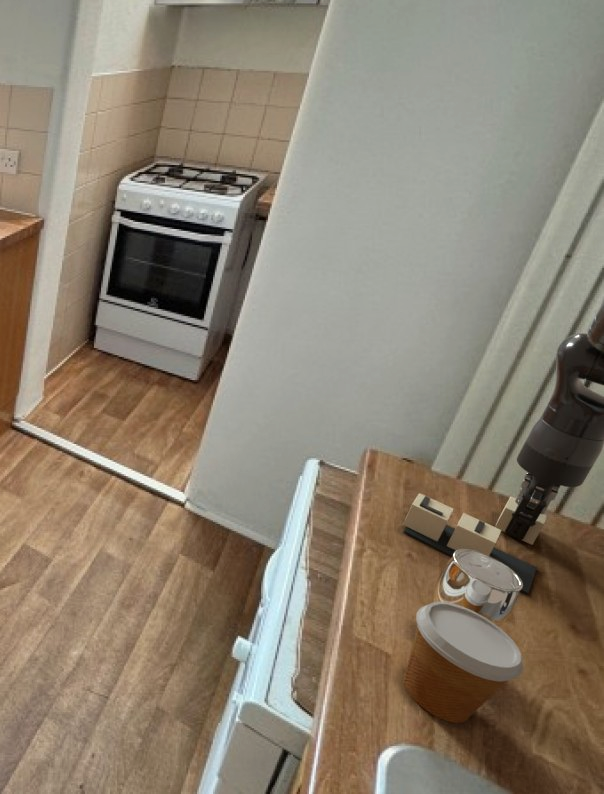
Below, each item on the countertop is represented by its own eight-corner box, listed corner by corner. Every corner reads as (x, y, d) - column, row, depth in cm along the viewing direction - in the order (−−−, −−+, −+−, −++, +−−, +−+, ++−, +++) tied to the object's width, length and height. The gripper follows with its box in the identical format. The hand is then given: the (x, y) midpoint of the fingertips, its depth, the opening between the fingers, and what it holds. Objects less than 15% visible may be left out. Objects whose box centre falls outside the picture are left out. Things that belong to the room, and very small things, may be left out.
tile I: (490, 551, 99) (502, 528, 98) (484, 564, 97) (496, 541, 95) (453, 533, 103) (464, 511, 101) (446, 546, 100) (457, 523, 98)
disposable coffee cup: (369, 659, 82) (400, 596, 78) (440, 662, 82) (475, 599, 78) (428, 735, 73) (467, 669, 69) (508, 739, 73) (552, 674, 69)
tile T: (536, 532, 104) (549, 510, 102) (532, 545, 101) (545, 522, 99) (499, 516, 107) (511, 494, 105) (494, 527, 105) (506, 506, 103)
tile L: (444, 529, 104) (454, 507, 102) (437, 541, 101) (448, 519, 99) (409, 513, 107) (419, 491, 105) (402, 524, 104) (412, 502, 103)
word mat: (536, 569, 97) (537, 567, 96) (527, 595, 92) (528, 593, 92) (416, 512, 108) (416, 510, 108) (403, 532, 103) (404, 530, 103)
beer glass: (406, 644, 84) (447, 565, 79) (416, 615, 89) (455, 539, 83) (474, 683, 79) (523, 602, 74) (481, 650, 84) (527, 572, 78)
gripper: (589, 480, 91) (540, 563, 97) (599, 445, 99) (553, 524, 105) (519, 454, 97) (477, 534, 103) (534, 422, 105) (494, 498, 111)
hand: (516, 528), depth 104 cm, fingers closed on tile T, 4 cm apart
